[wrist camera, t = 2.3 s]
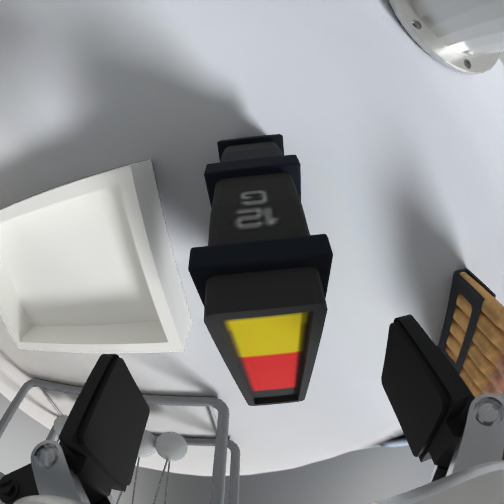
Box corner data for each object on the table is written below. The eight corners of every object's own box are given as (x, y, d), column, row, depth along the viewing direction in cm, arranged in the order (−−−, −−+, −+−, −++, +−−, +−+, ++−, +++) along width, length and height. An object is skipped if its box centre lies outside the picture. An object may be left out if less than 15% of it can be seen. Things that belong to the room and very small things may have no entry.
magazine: (274, 89, 17) (344, 292, 7) (282, 235, 26) (307, 406, 16) (214, 96, 17) (183, 308, 7) (240, 239, 27) (247, 412, 17)
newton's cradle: (59, 419, 34) (23, 501, 18) (27, 375, 30) (-25, 462, 14) (240, 440, 33) (237, 560, 17) (229, 394, 29) (219, 549, 13)
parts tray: (-10, 213, 21) (-35, 226, 17) (151, 159, 20) (130, 165, 16) (35, 328, 26) (18, 348, 23) (192, 321, 25) (184, 351, 21)
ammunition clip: (453, 271, 23) (530, 344, 12) (467, 267, 23) (542, 336, 12) (436, 352, 28) (482, 428, 16) (448, 348, 27) (496, 421, 16)
